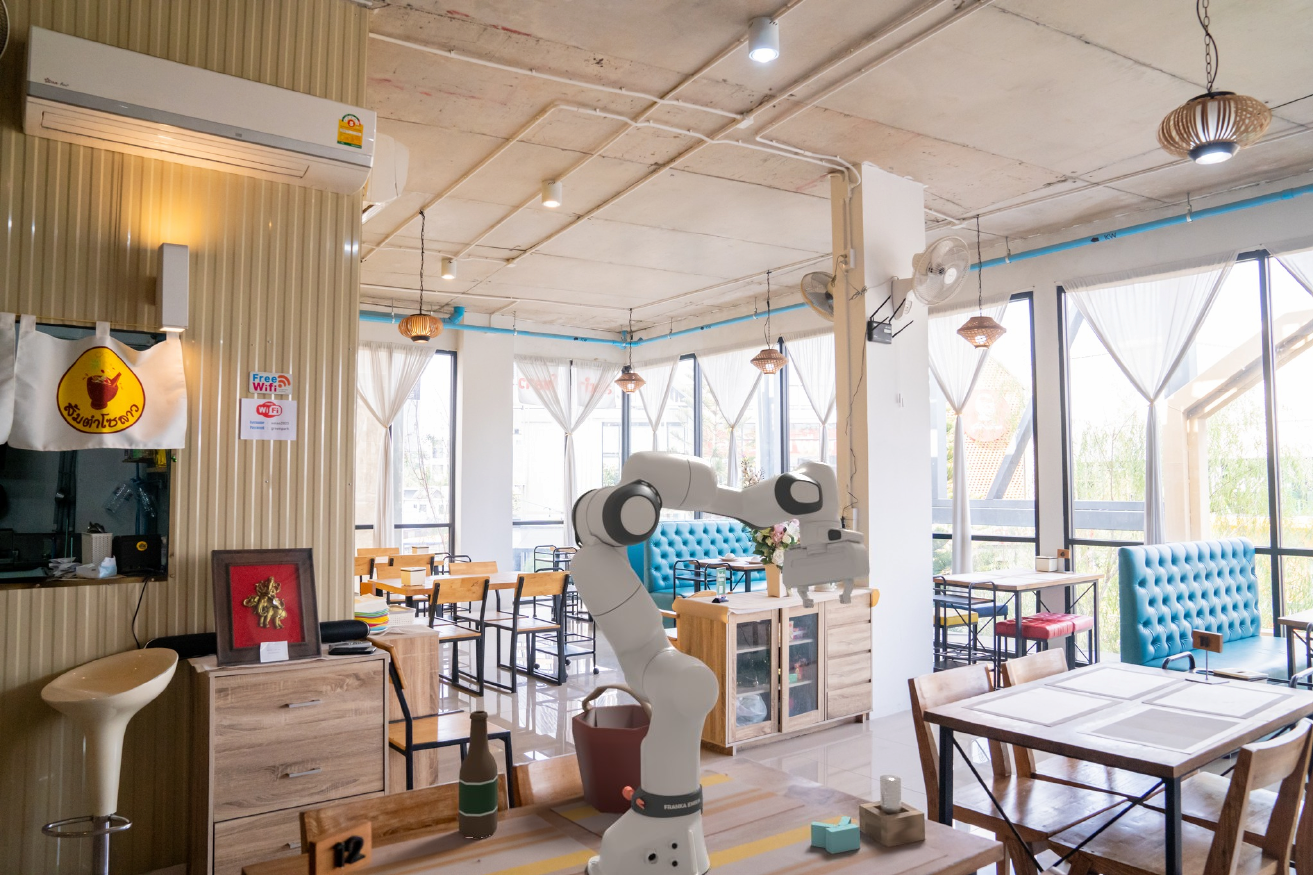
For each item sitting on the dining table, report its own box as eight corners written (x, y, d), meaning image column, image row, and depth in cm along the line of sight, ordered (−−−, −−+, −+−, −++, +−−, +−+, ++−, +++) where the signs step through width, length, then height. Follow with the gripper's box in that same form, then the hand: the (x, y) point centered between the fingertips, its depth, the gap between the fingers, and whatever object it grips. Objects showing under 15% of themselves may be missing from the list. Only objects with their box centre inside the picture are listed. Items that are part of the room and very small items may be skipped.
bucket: (559, 792, 194) (559, 682, 196) (644, 776, 204) (643, 672, 206) (603, 827, 172) (603, 704, 174) (695, 808, 183) (694, 691, 185)
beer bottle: (450, 835, 169) (451, 714, 171) (475, 822, 176) (476, 705, 178) (480, 842, 165) (481, 718, 167) (505, 828, 172) (505, 709, 174)
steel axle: (890, 839, 165) (888, 782, 166) (877, 832, 168) (875, 776, 169) (906, 836, 166) (904, 779, 167) (893, 829, 170) (892, 773, 171)
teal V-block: (825, 855, 158) (824, 833, 158) (808, 843, 163) (807, 822, 164) (866, 846, 162) (865, 825, 162) (848, 835, 167) (847, 815, 167)
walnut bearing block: (887, 846, 162) (887, 820, 162) (859, 829, 170) (858, 804, 170) (925, 839, 165) (924, 813, 165) (895, 823, 173) (895, 798, 174)
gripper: (773, 544, 181) (777, 609, 177) (851, 529, 166) (858, 599, 162) (792, 547, 185) (797, 611, 181) (870, 533, 170) (877, 601, 166)
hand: (826, 605), depth 171 cm, fingers open, 8 cm apart
